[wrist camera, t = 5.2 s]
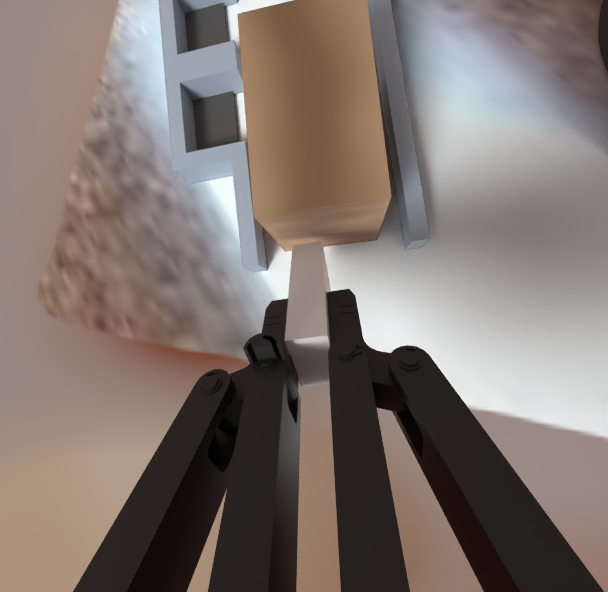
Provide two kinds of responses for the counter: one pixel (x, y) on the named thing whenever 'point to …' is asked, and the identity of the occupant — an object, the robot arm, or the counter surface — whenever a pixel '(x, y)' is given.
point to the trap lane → (223, 124)
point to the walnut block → (314, 122)
